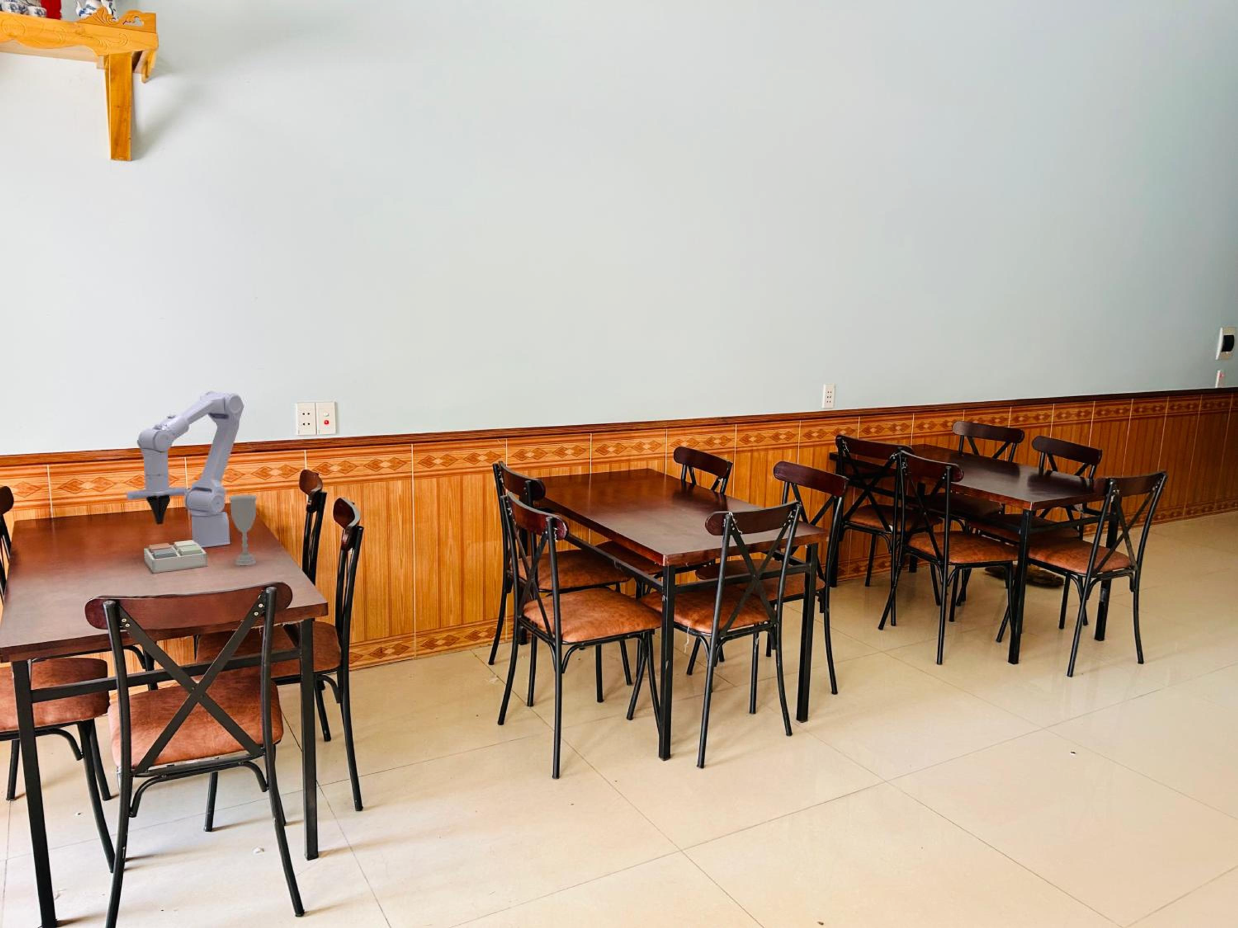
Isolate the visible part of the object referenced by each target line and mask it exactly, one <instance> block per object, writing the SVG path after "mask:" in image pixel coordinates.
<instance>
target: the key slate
mask: <svg viewBox="0 0 1238 928" xmlns="http://www.w3.org/2000/svg"><path fill="white" fill-rule="evenodd" d="M153 557H154V559H161V558H169V557H176V552H175V551H174V550H173V548H171V549H162V550H154V551H153Z"/></svg>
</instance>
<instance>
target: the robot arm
mask: <svg viewBox="0 0 1238 928" xmlns="http://www.w3.org/2000/svg"><path fill="white" fill-rule="evenodd" d="M244 408H245V405H244V403H243V400H242V398H241V396H240V395H239V394H238V393H235V392H234V393H228V392H227V393H226V392H225V393H224V392H216V391H215V392H214V391H207V392H206V393H205V394H202V395H200V397H199V399H198V400H197V402H194V404H192V405H191V406H190V407H189V408H187V409H186V410H185V411H184V412H182V413H181V414H177V413H173V414H172V413H170V414H168V415H167V416H166V417H167V418H165V419H164V420H162V421H161V422H159V423H155V425H154V426H153V428H146V429H144V430H142V431H141V432H140V433H139V435H138V439H136V444H137V446H138V447H139V449H140V451H141V452H140V453H141V455H142V457H143V469H144V470H143V471H144V473H143V474H144V488H145V489H140V490H139V489H138V490H133V491H126V500H127V501H133V500H141V499H142V500H143V499H145V500H146V501H147V503H148V504H149V506H150V509H151V511H152V513H153V515H154V516H153V517H154V518H155V523H156V525H163V524H164V519H165V518H164V517H165V514H166V511H167V509H168V506H169V504H170V502H171V498H170V497H174V496H175V497H177V496H184V499H183V500H184V501H183V503H184V504H183V505H184V506H185V508H186V509H187V510H188V511H189V515H191V530H192V540H193V541H194V542H197V543H198V544H199V546H200V547H201V548H202V549H203V548H208V547H218V546H226V545H230V544H231V542H230V541H231V540H230V523H229V517H228V513H227V512H225V511H223V509H224V508H225V504H226V494H227V490H226V488H225V487H224V486H223V485H222V481H223V478H224V475H225V471H226V468H227V465H228V462H229V459H230V457H231V453H232V450H233V446H234V443H235V441H236V437H237V435H238V431H239V429H240V428H239V427H240V420H241V418H242V413H243V411H244ZM206 415H207V416H208V417H209V418H210V419H211V420H212V422H213V423H215V426H216V427H217V428H216V431H215V433H214V437H213V440H212V443H211V445H210V449H209V452H208V455H207V458H206V462H205V465H204V467H203V469H202V470H203V471H202V473H201V476H200V478H199V479H197V480H195V481H194V482H192V483H191V487H190V488H188V487H186V486H184V487H183V486H182V487H181V486H180V487H170V475H169V458H168V457H169V455H168V454H169V453H168V451H169V450H170V449H171V448H172V445H173V443H174V442H175V440H177V439H179V438H180V437H181V436H183V435H184V434H185V433H188V431H189V429H190V425H191V424H193V423H195V422H198V420H200V419H201V418H203V417H205V416H206Z"/></svg>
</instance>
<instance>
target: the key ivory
mask: <svg viewBox="0 0 1238 928" xmlns="http://www.w3.org/2000/svg"><path fill="white" fill-rule="evenodd" d="M173 545H174V548H175V549H176V550H179V547H187V546H195V545H196V543H195V542H194V541H193V539H189V540H183V541H182V540H180V541H174V542H173Z"/></svg>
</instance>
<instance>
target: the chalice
mask: <svg viewBox="0 0 1238 928" xmlns="http://www.w3.org/2000/svg"><path fill="white" fill-rule="evenodd" d="M257 498H258V496H257V495H252V494H238V495H237V494H236V495H232V496H231V495H230V496H229V497H228V500H229V503H230V514H231V515H230V516H231V518H232V520H233V523H234V526H235V528H236V529H237V530H238V531H239V532H241V533H242V535H241V536H242V537H241V540H242V544H241V547H242V550H243V551H242V552H241V553H240V554H239V555H238V556H237V560H236V562H235V563H236V564H235V565H236V566H240V565H247V566H251V565H254V563H255V564H256V563H257V562H256V560H255V558H254V555H253V554H252V553H249V552H248V547H249V544H248V543H247V541H248V539H249V538H248V535H247V532H248V531H251V529H252V526H253V524H254V521H255V519H256V516H257V512H256V509H257V507H256V501H257V500H258V499H257Z"/></svg>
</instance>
